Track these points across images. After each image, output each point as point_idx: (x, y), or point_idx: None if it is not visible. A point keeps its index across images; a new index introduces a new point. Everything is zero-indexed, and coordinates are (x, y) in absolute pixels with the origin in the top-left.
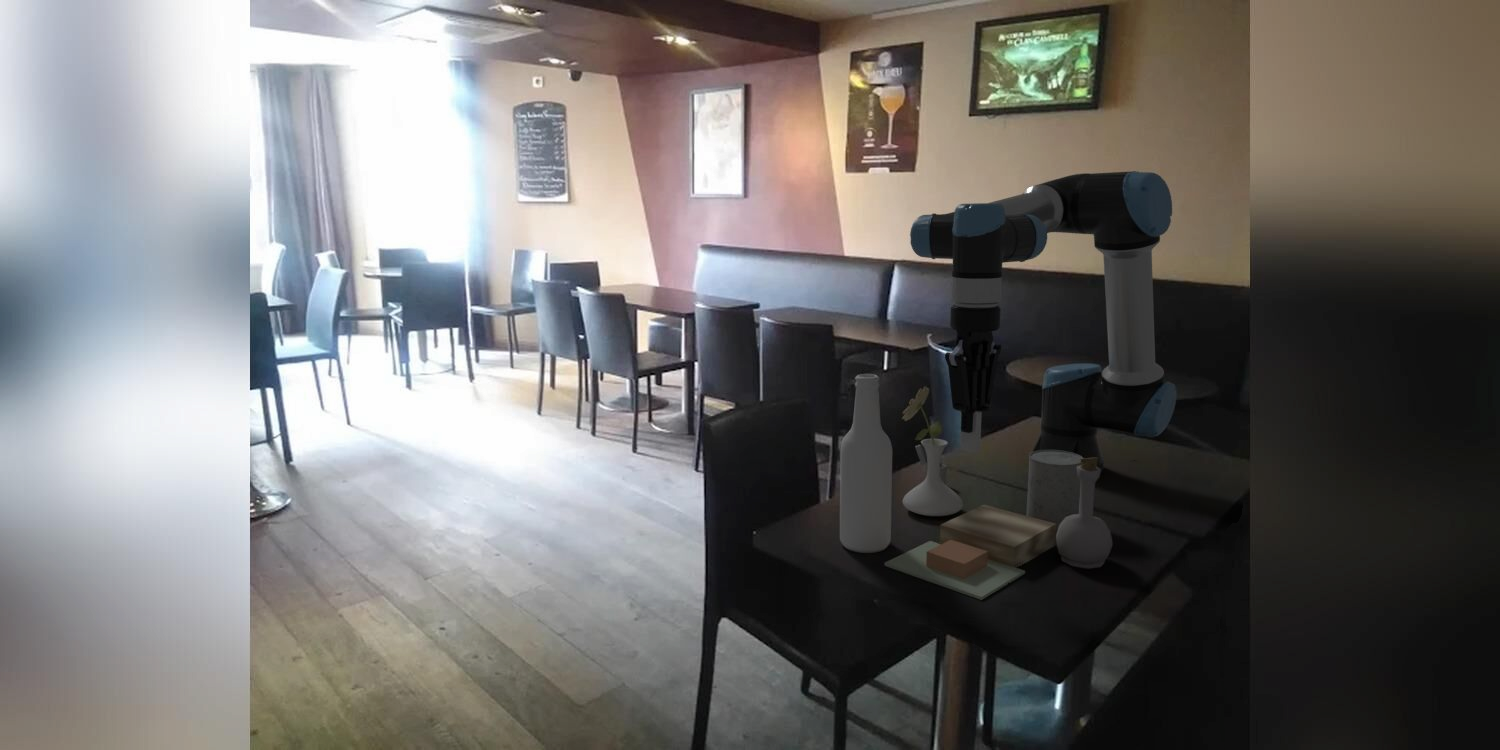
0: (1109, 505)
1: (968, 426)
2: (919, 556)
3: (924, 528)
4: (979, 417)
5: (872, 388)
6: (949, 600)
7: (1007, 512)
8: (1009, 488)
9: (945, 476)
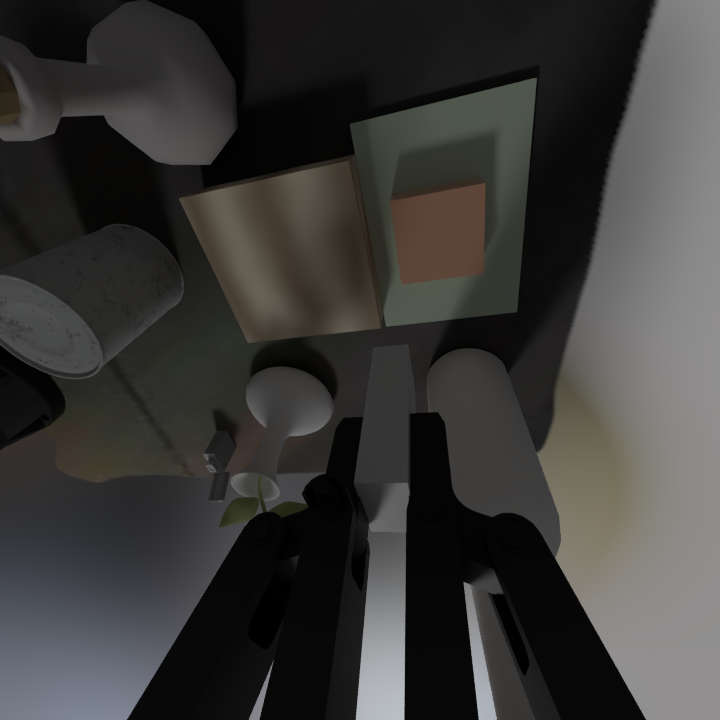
0: (3, 255)
1: (445, 437)
2: (451, 296)
3: (348, 363)
4: (375, 457)
5: None
6: (579, 125)
7: (233, 296)
8: (137, 383)
9: (212, 441)
